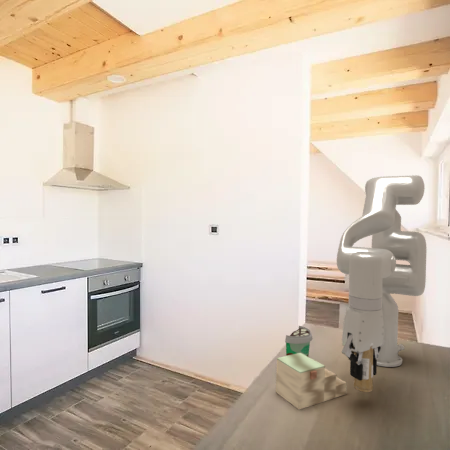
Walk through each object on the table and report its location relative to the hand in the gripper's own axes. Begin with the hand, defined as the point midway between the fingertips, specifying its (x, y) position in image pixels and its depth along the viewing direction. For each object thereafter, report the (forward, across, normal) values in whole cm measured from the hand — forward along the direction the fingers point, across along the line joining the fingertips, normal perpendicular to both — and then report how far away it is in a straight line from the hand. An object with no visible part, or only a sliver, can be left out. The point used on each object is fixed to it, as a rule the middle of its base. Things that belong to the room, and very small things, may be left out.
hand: (363, 374), depth 84 cm
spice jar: (+4, 0, 0) cm, 4 cm away
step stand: (+7, +8, -9) cm, 14 cm away
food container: (+8, -2, -24) cm, 26 cm away
